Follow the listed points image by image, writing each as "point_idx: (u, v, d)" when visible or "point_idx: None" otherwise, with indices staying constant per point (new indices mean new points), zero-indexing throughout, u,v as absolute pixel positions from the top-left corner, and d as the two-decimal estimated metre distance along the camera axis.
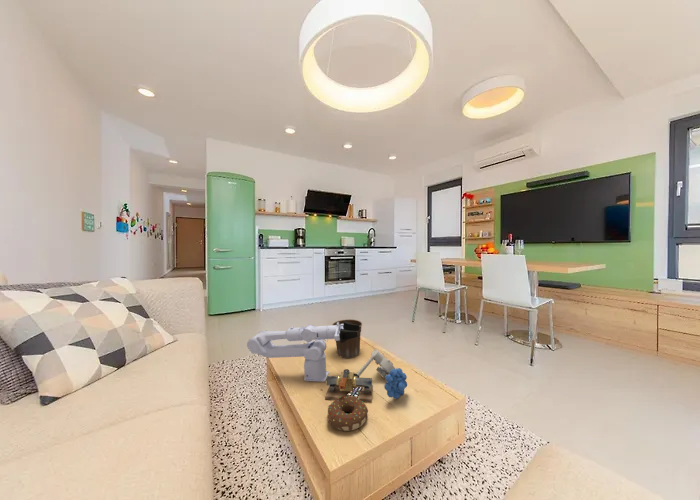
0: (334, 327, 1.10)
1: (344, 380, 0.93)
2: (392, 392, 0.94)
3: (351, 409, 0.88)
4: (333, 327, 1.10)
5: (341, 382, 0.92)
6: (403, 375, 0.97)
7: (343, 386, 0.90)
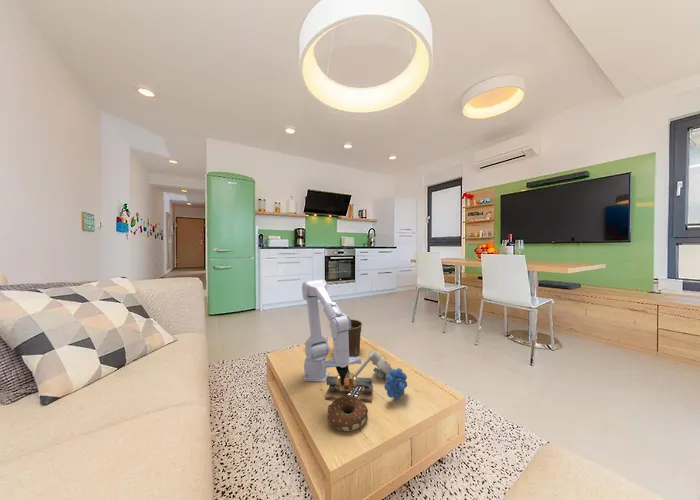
0: (339, 361, 0.90)
1: (347, 380, 0.93)
2: (392, 392, 0.94)
3: (351, 409, 0.88)
4: (339, 359, 0.90)
5: (345, 382, 0.92)
6: (403, 375, 0.97)
7: (347, 386, 0.90)
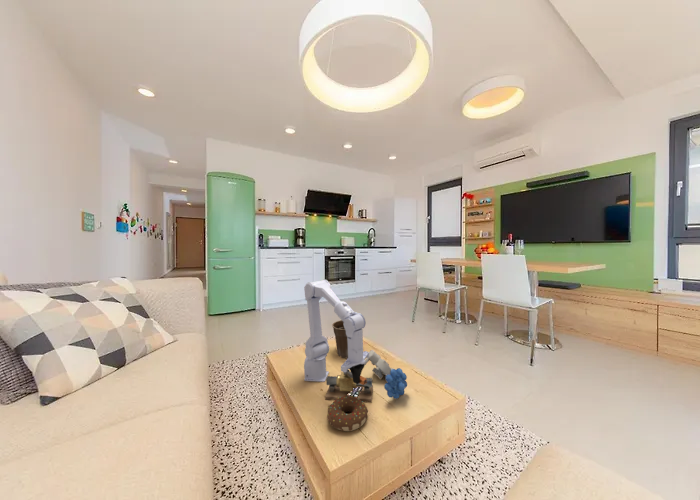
0: (358, 359, 0.91)
1: (360, 376, 0.95)
2: (392, 392, 0.94)
3: (351, 409, 0.88)
4: (358, 357, 0.91)
5: (361, 378, 0.94)
6: (403, 375, 0.97)
7: (366, 380, 0.93)
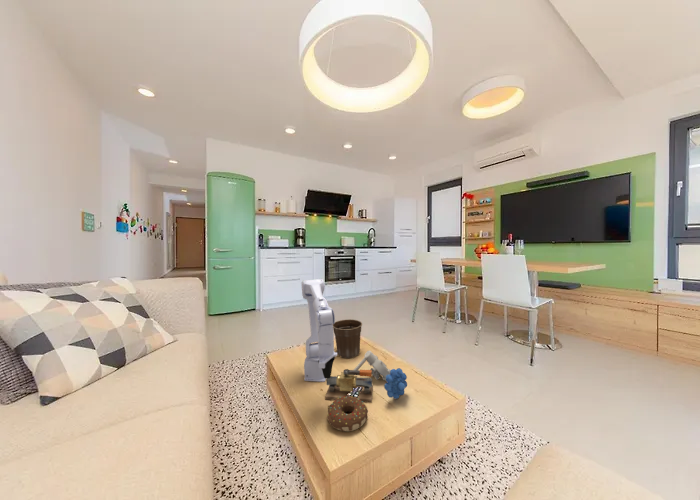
0: (332, 352, 0.92)
1: (364, 370, 1.00)
2: (392, 392, 0.94)
3: (351, 409, 0.88)
4: (332, 351, 0.92)
5: (367, 371, 0.98)
6: (403, 375, 0.97)
7: (371, 371, 0.99)
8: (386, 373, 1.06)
